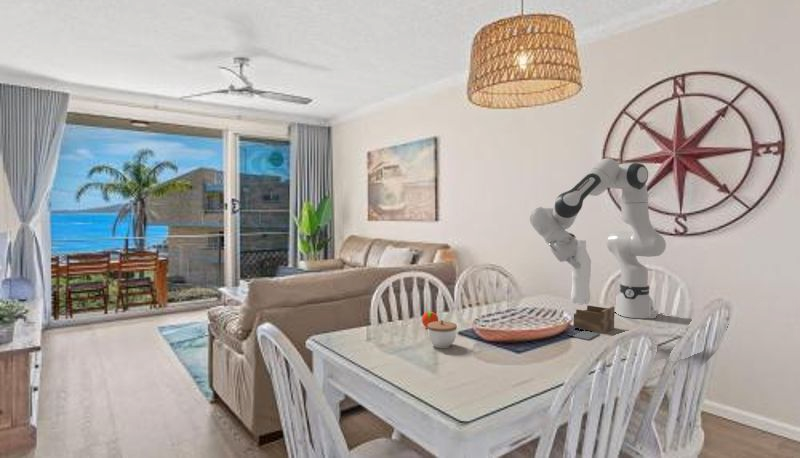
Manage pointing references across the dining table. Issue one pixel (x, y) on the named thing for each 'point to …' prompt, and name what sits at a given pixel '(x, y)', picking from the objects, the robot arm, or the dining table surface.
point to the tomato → (429, 318)
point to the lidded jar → (441, 333)
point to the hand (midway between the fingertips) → (582, 266)
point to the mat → (586, 335)
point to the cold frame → (595, 319)
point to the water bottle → (581, 275)
